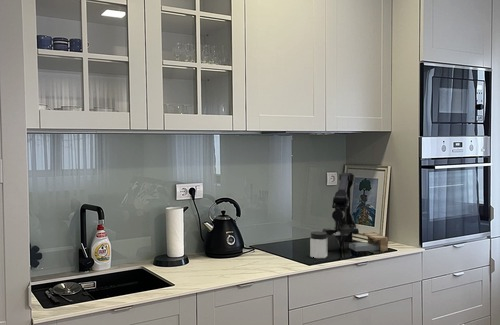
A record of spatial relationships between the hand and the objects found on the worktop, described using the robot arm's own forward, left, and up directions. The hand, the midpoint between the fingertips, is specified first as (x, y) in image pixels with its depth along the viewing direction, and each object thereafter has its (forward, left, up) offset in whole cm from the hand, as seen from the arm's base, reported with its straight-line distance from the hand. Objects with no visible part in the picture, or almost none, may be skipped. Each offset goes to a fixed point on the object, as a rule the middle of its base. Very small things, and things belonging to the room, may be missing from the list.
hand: (340, 247), depth 267 cm
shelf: (0, +20, -1) cm, 20 cm away
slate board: (0, +14, -2) cm, 14 cm away
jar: (+12, -16, -2) cm, 20 cm away
